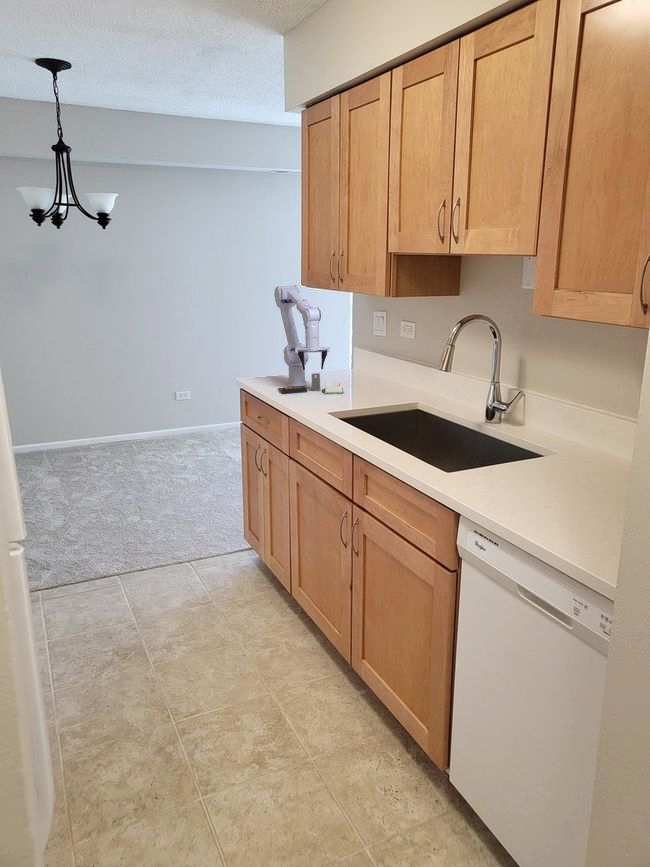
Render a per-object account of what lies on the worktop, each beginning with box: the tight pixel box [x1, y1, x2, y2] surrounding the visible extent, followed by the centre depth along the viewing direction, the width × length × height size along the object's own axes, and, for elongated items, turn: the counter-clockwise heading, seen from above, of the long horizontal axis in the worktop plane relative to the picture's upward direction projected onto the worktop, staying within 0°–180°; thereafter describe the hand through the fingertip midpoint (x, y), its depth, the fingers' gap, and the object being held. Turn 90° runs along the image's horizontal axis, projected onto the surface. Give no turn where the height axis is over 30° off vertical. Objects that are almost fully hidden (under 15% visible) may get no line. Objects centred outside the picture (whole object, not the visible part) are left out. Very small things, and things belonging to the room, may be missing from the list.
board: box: [323, 382, 345, 395], centre depth 280 cm, size 10×8×3 cm
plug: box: [311, 372, 321, 392], centre depth 283 cm, size 4×4×7 cm
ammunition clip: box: [277, 386, 308, 395], centre depth 284 cm, size 11×2×12 cm
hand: (313, 369), depth 280 cm, fingers open, 7 cm apart
